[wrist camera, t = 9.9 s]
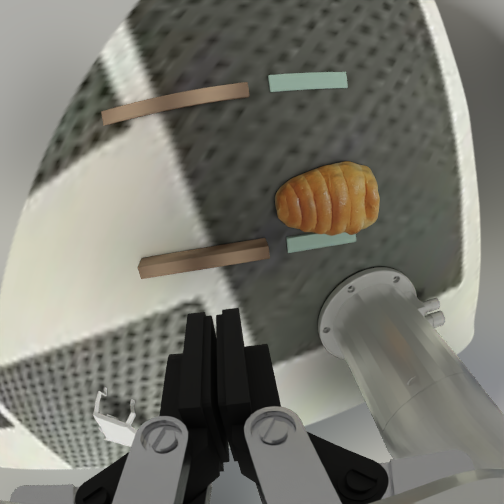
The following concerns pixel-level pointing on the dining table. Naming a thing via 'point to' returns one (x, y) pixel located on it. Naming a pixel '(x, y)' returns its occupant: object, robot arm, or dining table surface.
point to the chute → (201, 256)
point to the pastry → (330, 199)
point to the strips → (302, 83)
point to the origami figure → (115, 424)
